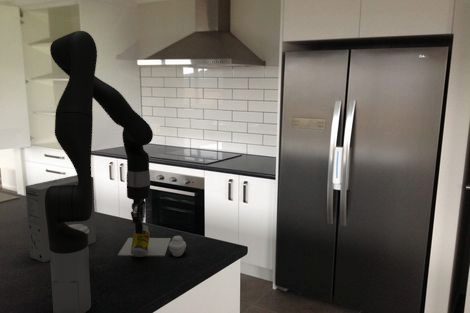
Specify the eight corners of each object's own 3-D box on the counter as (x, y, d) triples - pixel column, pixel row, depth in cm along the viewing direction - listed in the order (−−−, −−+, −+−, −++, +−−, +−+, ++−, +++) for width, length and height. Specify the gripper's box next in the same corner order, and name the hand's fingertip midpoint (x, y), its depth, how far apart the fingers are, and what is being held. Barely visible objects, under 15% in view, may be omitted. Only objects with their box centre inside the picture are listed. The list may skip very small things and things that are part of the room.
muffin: (175, 259, 140) (175, 240, 139) (164, 254, 144) (164, 235, 143) (190, 254, 144) (190, 235, 143) (178, 249, 149) (178, 231, 147)
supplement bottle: (133, 248, 136) (137, 221, 143) (127, 255, 140) (132, 228, 146) (149, 252, 138) (153, 225, 145) (143, 259, 142) (147, 232, 149)
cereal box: (82, 238, 158) (79, 174, 154) (96, 242, 154) (93, 176, 150) (29, 257, 140) (24, 185, 135) (44, 263, 136) (39, 189, 131)
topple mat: (164, 256, 143) (164, 255, 143) (117, 255, 142) (117, 254, 142) (170, 239, 158) (170, 238, 158) (128, 238, 158) (128, 237, 158)
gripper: (146, 188, 130) (146, 240, 133) (153, 178, 142) (153, 226, 146) (121, 188, 129) (123, 240, 133) (131, 177, 142) (132, 225, 146)
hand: (139, 232), depth 139 cm, fingers closed
